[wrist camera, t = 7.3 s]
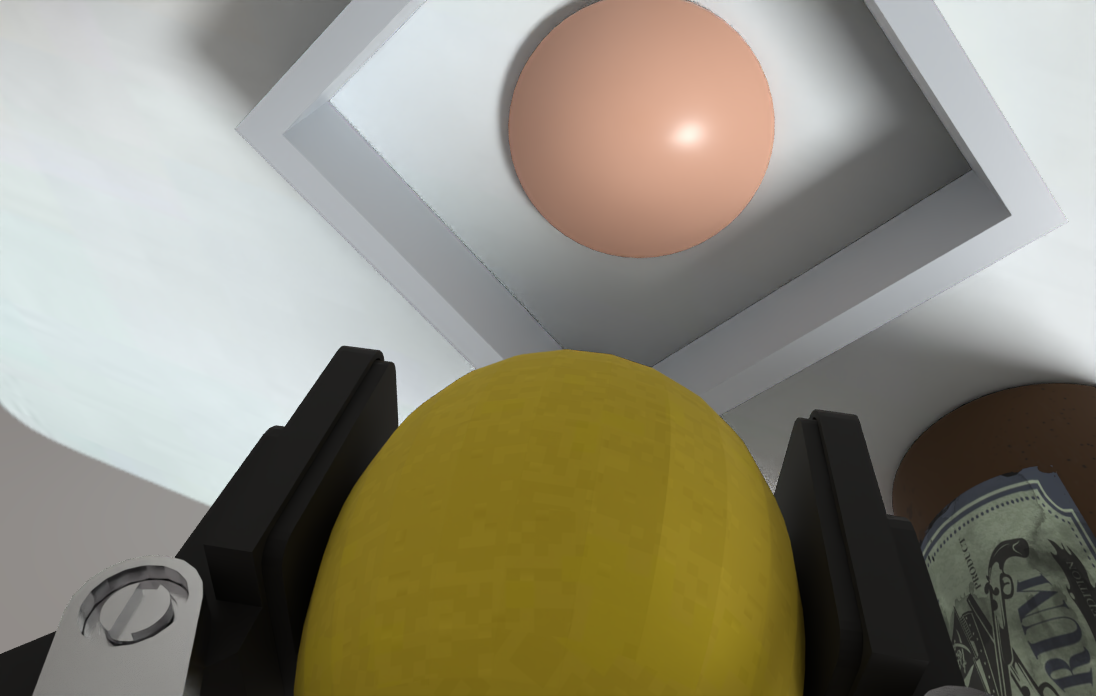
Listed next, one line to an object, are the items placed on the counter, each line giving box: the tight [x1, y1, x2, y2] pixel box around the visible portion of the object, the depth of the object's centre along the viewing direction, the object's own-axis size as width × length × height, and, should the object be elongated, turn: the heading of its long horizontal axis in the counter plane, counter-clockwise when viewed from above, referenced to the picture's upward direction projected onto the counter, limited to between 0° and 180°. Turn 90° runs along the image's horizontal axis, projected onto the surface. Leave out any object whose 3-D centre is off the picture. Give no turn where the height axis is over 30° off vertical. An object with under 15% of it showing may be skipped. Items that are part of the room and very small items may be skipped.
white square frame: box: [235, 0, 1069, 416], centre depth 23 cm, size 16×16×4 cm
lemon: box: [294, 349, 805, 696], centre depth 10 cm, size 6×6×8 cm
